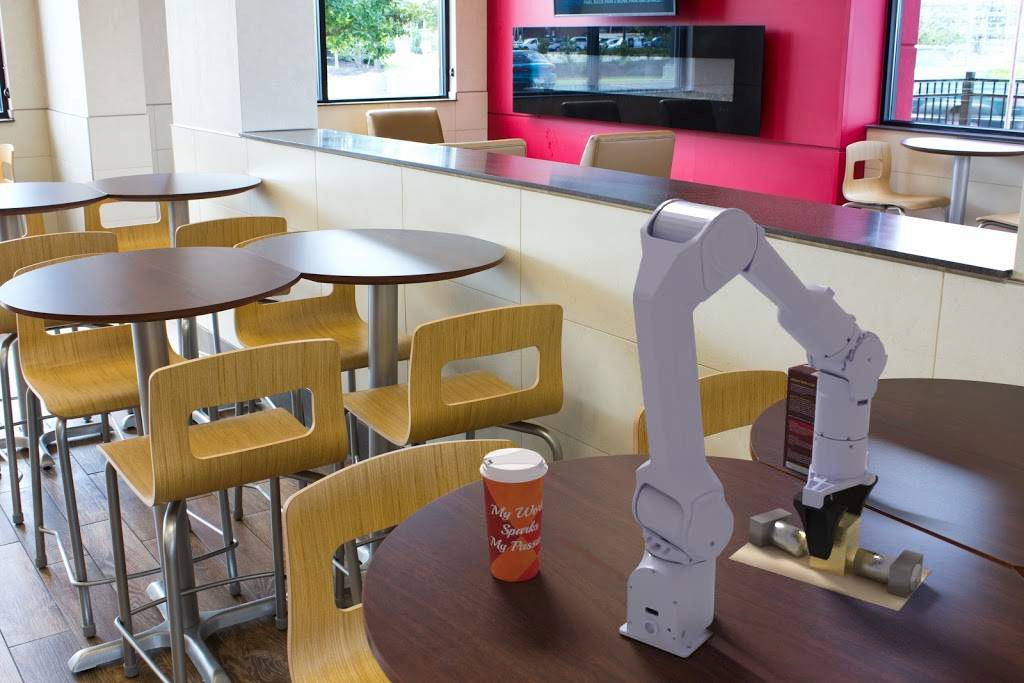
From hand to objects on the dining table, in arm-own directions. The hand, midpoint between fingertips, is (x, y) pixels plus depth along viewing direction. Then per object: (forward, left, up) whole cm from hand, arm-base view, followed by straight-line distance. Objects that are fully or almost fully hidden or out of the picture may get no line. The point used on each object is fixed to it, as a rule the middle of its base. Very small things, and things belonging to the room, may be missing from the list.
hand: (832, 544), depth 116 cm
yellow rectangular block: (0, 0, -3) cm, 3 cm away
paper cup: (-21, +30, -4) cm, 36 cm away
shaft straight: (0, -6, -3) cm, 7 cm away
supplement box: (+26, +12, -4) cm, 29 cm away
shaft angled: (+1, +6, -3) cm, 7 cm away
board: (0, 0, -4) cm, 4 cm away
